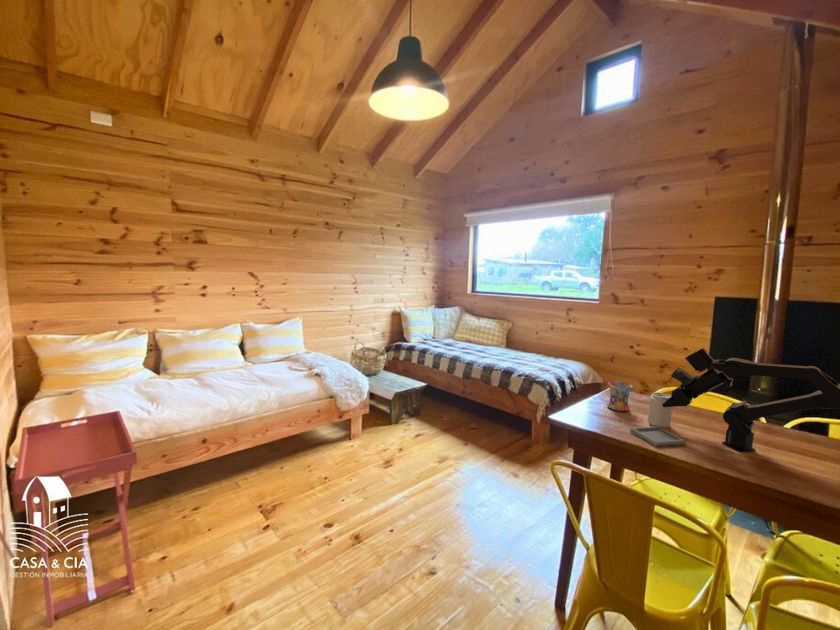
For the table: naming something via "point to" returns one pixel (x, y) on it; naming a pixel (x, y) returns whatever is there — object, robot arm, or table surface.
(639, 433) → the slate dish
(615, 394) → the mug
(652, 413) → the can
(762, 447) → the table surface
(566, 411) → the table surface
